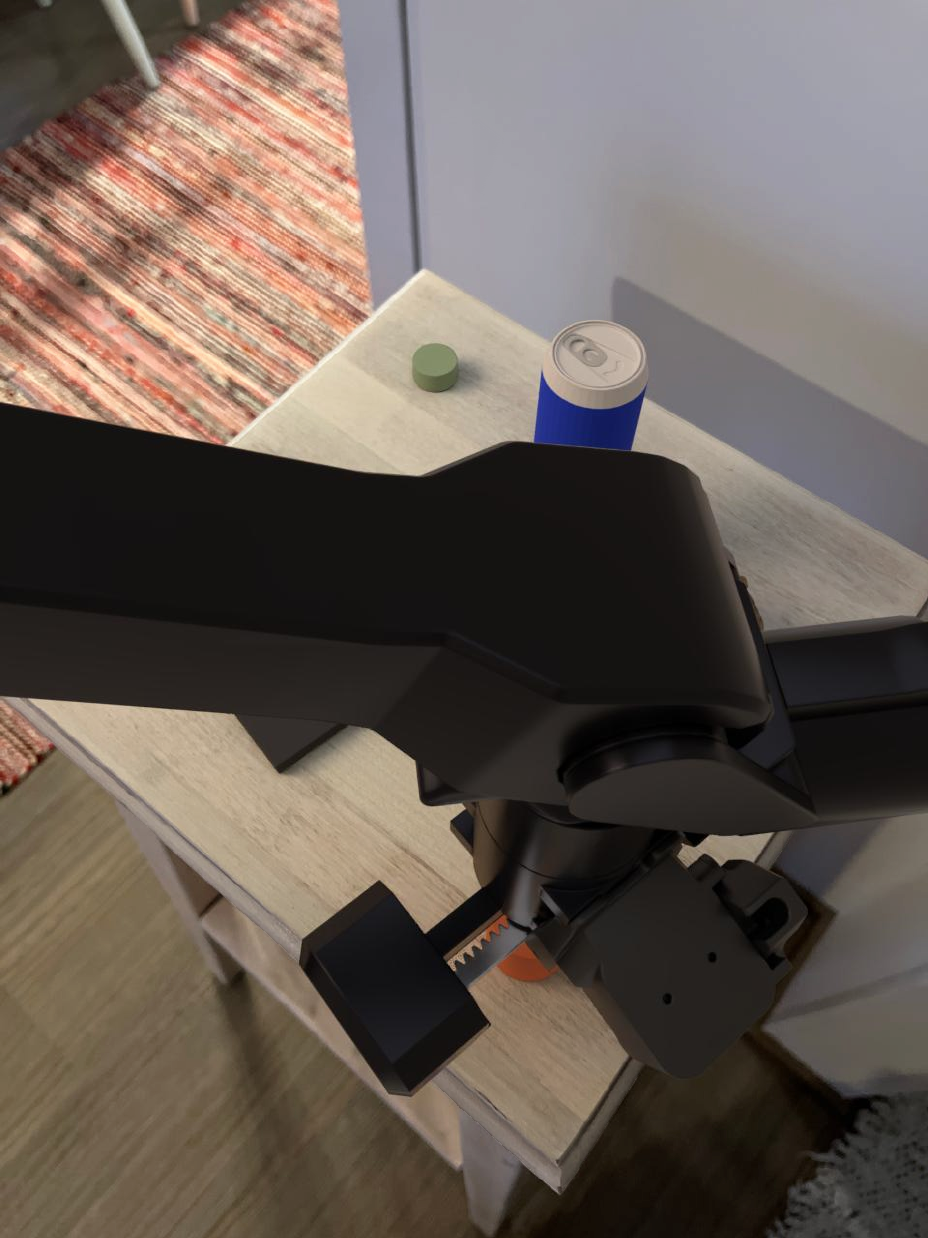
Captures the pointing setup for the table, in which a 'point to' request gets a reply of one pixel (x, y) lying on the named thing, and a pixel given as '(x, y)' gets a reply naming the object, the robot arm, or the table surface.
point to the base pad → (287, 737)
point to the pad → (435, 367)
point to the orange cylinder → (520, 960)
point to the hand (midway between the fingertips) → (532, 915)
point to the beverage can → (592, 387)
